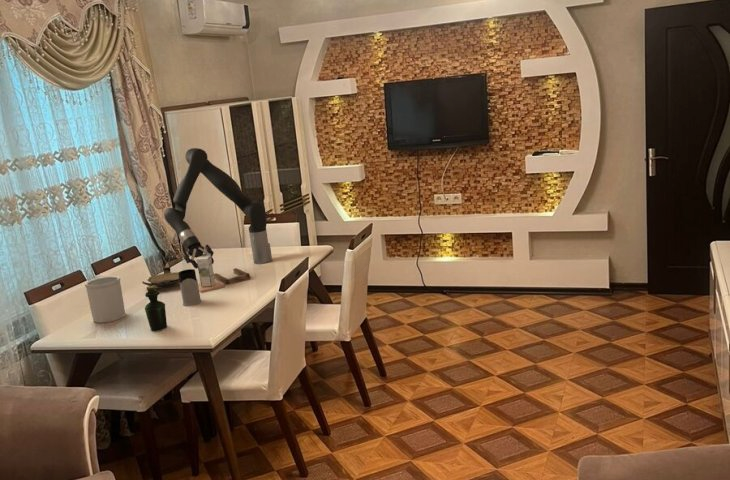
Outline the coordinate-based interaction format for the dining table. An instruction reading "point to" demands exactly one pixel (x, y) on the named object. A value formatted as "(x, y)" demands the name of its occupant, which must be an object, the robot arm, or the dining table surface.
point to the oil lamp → (164, 278)
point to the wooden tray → (241, 277)
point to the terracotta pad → (211, 287)
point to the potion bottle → (155, 310)
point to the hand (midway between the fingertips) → (205, 265)
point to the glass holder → (189, 287)
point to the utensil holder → (105, 298)
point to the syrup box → (205, 271)
